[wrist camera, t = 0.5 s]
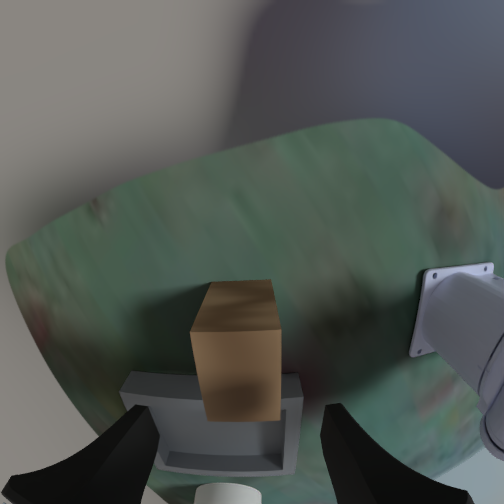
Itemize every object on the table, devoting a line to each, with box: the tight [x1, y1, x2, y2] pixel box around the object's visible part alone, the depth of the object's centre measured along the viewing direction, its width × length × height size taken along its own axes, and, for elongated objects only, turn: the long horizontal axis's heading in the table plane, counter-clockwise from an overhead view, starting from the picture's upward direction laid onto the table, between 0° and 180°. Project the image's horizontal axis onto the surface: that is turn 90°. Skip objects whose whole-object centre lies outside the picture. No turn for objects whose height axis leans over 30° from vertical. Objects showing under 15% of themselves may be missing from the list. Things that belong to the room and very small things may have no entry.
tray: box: [119, 371, 304, 477], centre depth 20 cm, size 14×12×3 cm
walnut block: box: [190, 279, 281, 422], centre depth 15 cm, size 4×6×7 cm, turn 3°
